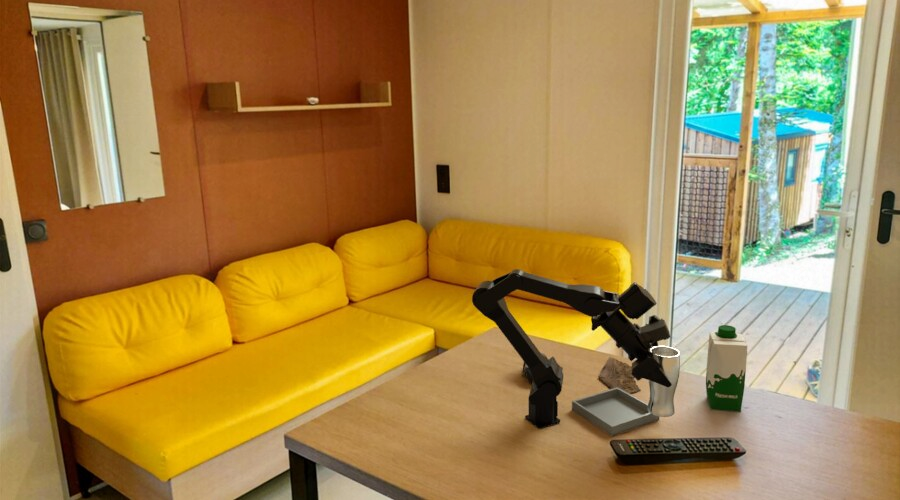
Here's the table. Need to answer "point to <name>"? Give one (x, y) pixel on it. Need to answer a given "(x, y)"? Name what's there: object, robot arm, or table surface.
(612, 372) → the wooden fragment
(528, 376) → the caster wheel
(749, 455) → the table surface
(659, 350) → the metal tumbler
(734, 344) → the milk carton
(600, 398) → the tray
